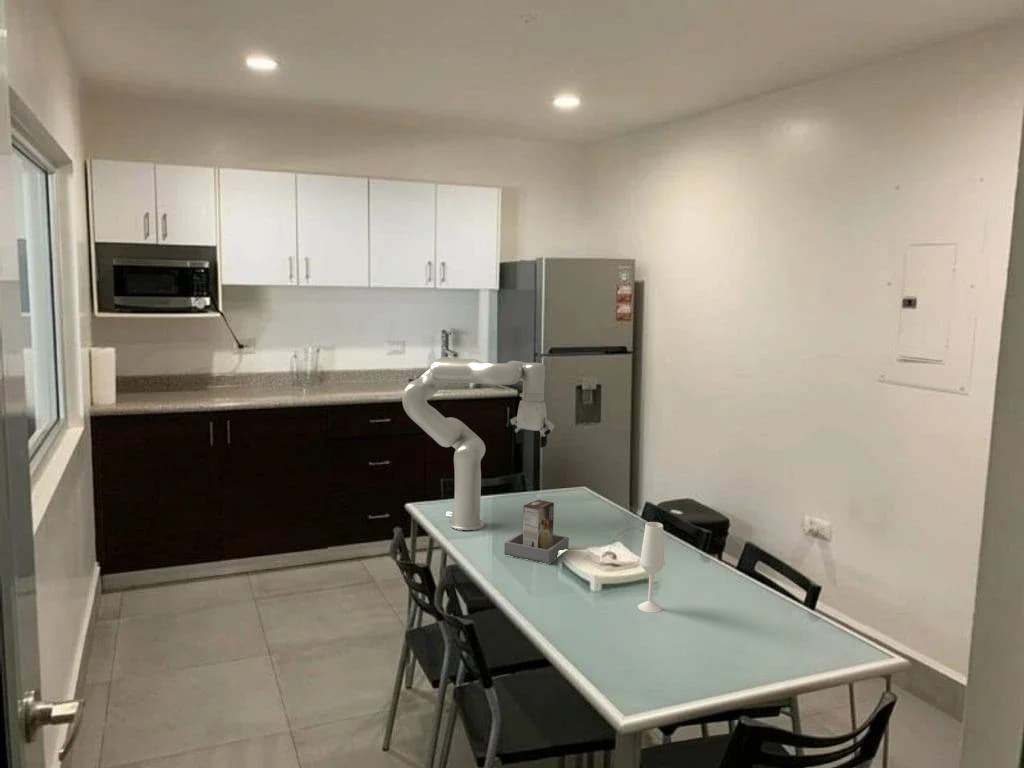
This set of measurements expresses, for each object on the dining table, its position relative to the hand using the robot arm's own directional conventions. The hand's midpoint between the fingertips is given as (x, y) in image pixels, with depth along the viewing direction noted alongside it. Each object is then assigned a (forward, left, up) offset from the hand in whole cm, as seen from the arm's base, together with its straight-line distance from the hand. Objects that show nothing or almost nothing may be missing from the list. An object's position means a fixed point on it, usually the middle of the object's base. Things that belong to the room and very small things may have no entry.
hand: (531, 444), depth 276 cm
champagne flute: (+59, -43, -32) cm, 79 cm away
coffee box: (+13, -19, -31) cm, 39 cm away
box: (+13, -20, -32) cm, 39 cm away
